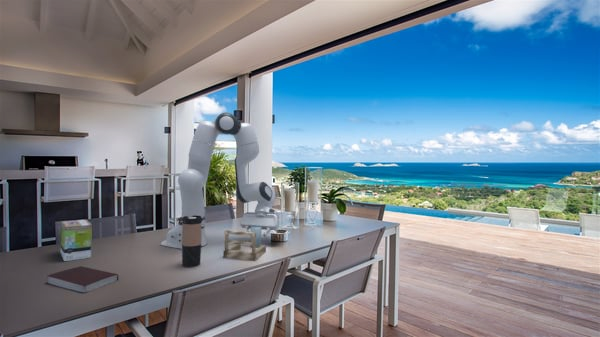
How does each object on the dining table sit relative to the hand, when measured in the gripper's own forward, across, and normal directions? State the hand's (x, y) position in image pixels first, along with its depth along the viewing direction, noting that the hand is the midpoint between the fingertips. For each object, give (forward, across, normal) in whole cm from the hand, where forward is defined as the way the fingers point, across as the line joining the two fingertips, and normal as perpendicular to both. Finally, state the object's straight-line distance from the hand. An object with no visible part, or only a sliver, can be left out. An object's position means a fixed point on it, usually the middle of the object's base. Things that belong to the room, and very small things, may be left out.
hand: (256, 235), depth 166 cm
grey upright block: (+4, 0, +4) cm, 6 cm away
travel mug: (+28, -16, -20) cm, 38 cm away
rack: (+14, 0, -6) cm, 15 cm away
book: (+48, -42, -39) cm, 75 cm away
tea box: (+31, -70, -23) cm, 80 cm away
